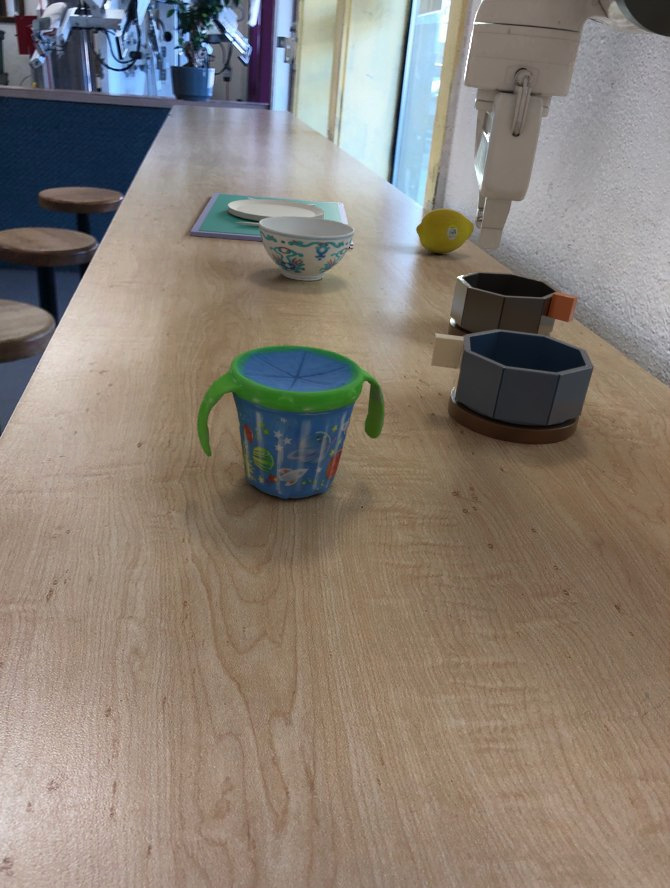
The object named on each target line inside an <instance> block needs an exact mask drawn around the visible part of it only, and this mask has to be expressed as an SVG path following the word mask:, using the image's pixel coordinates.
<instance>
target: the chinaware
mask: <svg viewBox="0 0 670 888" xmlns="http://www.w3.org/2000/svg"><path fill="white" fill-rule="evenodd" d="M259 230H260V235H261V239H262V241H261V242H262V245H263V248H264V250H265V251H266V253H267V256H269V258H270V259H271V261H273V262H274V264H275V265H276V266H278V267H279V268H280V269H281V274H282V276H284V277H285V278H288V279H291V280H297V281H306V282H307V281H309V282H310V281H312V282H313V281H318V280H322V279H323V278H324V277H325V272H327V271H329V270H331V269H333V268H334V267H335V266H336V265H337V264H339V262H341V261H342V259H343V258H344V257H345V255H346V253H347V252H348V250H349V249H350V248H349V246H350V244H351V241H352V242H353V237H354V235H355V228H354V227H352V226H350V225H349V224H348V225H347V224H344V223H340V222H337V221H332V220H327V219H320V218H312V217H299V216H279V217H270V218H265V219H262V220H260V221H259ZM321 278H322V279H321Z"/></svg>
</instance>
